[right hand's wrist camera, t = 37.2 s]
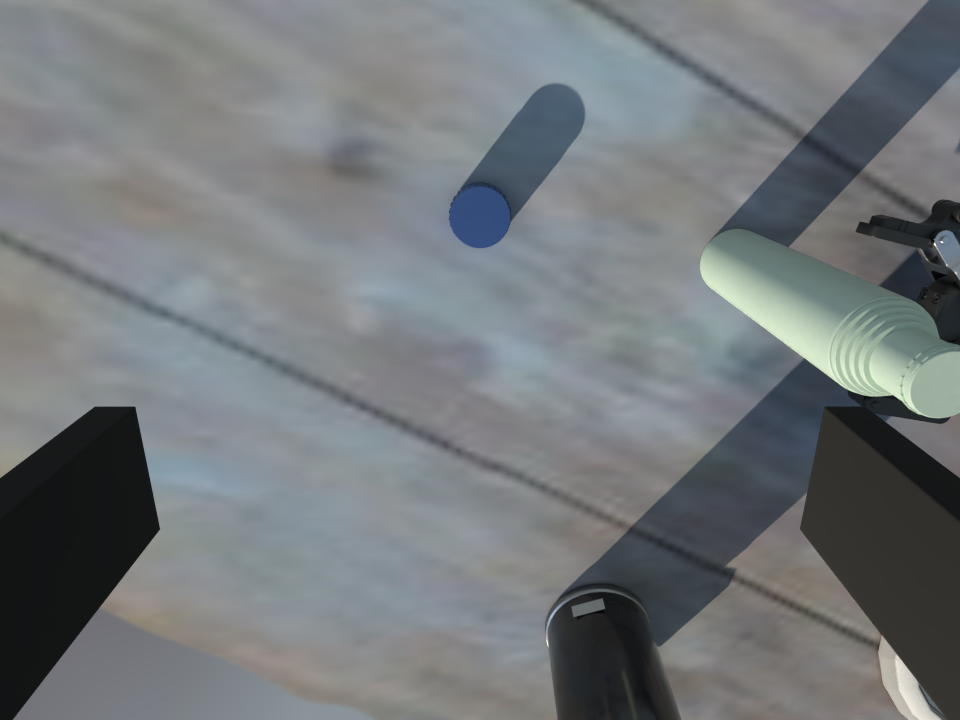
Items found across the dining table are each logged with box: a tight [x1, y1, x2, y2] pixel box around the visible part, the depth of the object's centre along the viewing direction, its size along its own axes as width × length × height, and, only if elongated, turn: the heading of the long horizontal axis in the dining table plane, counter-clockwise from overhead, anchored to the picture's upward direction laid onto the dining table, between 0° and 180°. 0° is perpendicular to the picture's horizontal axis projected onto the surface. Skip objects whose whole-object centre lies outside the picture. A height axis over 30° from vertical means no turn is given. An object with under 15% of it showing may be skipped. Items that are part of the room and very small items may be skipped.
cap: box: [449, 182, 511, 248], centre depth 46 cm, size 4×4×2 cm
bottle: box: [700, 229, 960, 418], centre depth 37 cm, size 5×5×23 cm
